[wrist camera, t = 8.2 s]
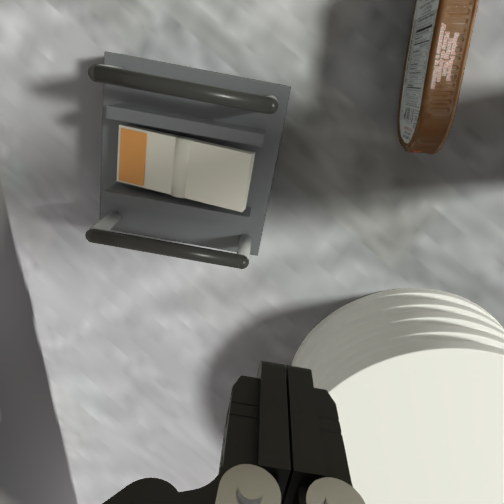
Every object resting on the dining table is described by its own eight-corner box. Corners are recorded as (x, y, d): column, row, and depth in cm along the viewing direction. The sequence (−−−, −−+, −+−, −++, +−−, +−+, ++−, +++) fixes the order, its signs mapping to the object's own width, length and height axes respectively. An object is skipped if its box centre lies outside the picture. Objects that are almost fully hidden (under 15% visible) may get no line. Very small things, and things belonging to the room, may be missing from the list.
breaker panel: (289, 86, 39) (294, 88, 29) (258, 241, 45) (255, 283, 36) (120, 54, 38) (72, 46, 29) (113, 215, 44) (72, 250, 35)
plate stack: (490, 465, 57) (541, 553, 46) (288, 463, 58) (292, 548, 48) (538, 285, 46) (619, 347, 35) (287, 288, 47) (292, 349, 37)
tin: (418, 146, 40) (453, 162, 33) (385, 145, 40) (413, 161, 33) (451, -36, 34) (503, -70, 27) (413, -37, 34) (454, -71, 27)
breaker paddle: (256, 152, 35) (251, 154, 33) (246, 207, 37) (241, 213, 35) (128, 123, 37) (117, 124, 35) (125, 178, 38) (114, 181, 37)
